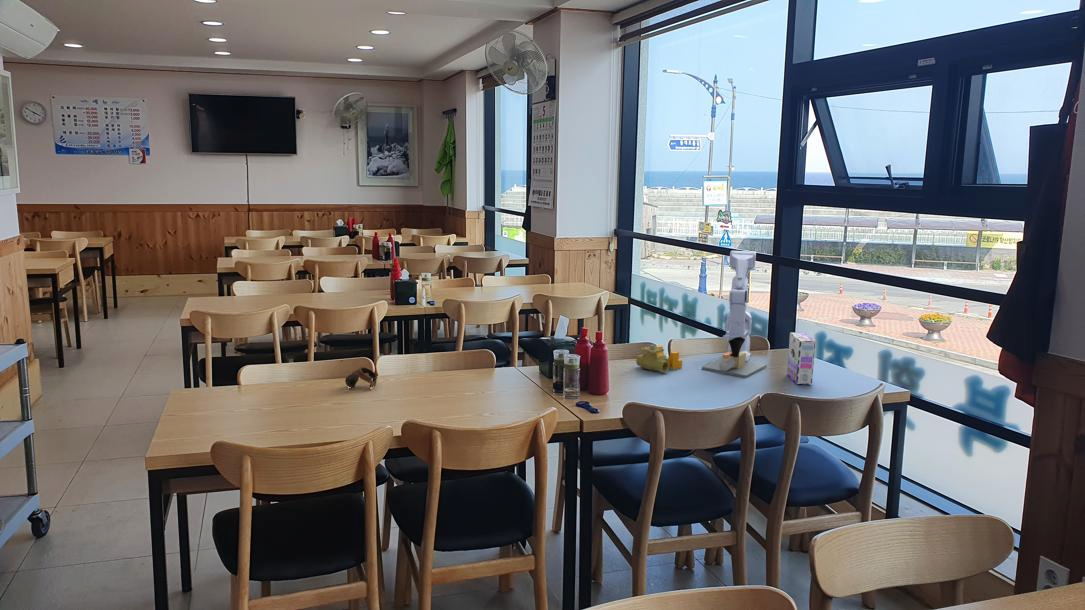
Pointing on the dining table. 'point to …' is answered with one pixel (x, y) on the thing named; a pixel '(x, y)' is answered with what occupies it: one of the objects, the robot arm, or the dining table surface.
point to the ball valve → (653, 359)
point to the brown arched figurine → (361, 377)
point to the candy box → (801, 358)
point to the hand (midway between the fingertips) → (735, 356)
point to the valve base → (735, 366)
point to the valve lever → (728, 355)
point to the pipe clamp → (672, 359)
